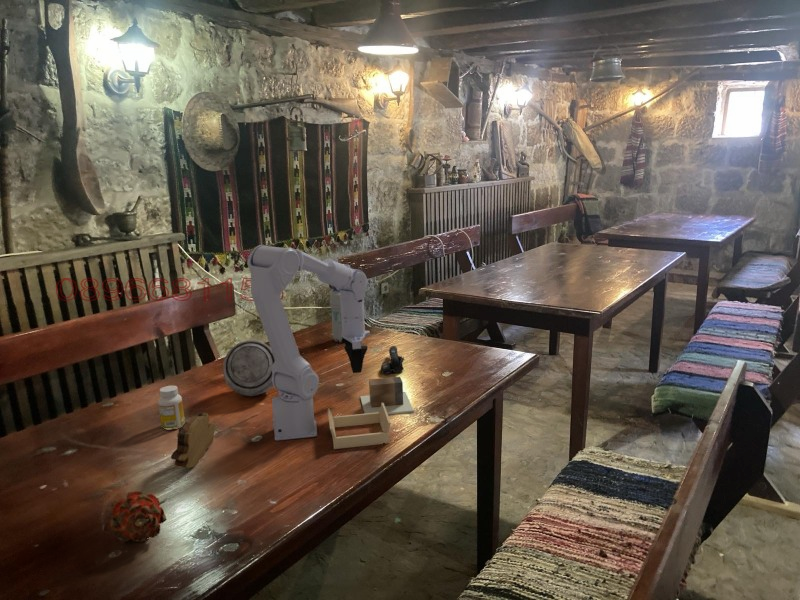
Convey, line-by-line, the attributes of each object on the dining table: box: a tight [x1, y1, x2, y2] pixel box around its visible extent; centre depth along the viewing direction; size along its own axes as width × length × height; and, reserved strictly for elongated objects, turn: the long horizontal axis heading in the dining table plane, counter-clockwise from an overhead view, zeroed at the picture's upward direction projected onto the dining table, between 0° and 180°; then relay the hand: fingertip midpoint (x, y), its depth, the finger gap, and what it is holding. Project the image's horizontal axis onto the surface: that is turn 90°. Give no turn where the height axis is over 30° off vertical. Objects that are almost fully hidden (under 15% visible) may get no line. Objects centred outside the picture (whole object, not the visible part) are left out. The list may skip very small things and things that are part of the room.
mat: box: [359, 391, 415, 416], centre depth 154 cm, size 12×12×1 cm
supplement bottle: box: [157, 385, 186, 428], centre depth 145 cm, size 5×5×10 cm
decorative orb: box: [222, 339, 276, 397], centre depth 163 cm, size 15×14×15 cm
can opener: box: [380, 345, 405, 374], centre depth 182 cm, size 18×7×6 cm, turn 178°
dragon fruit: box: [101, 490, 167, 543], centre depth 104 cm, size 8×8×12 cm
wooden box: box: [326, 403, 392, 450], centre depth 138 cm, size 13×11×5 cm
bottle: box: [329, 286, 343, 343], centre depth 205 cm, size 7×7×20 cm
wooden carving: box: [170, 412, 216, 469], centre depth 128 cm, size 16×5×10 cm, turn 178°
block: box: [368, 376, 404, 408], centre depth 154 cm, size 8×4×6 cm, turn 99°
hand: (355, 367), depth 155 cm, fingers open, 7 cm apart
